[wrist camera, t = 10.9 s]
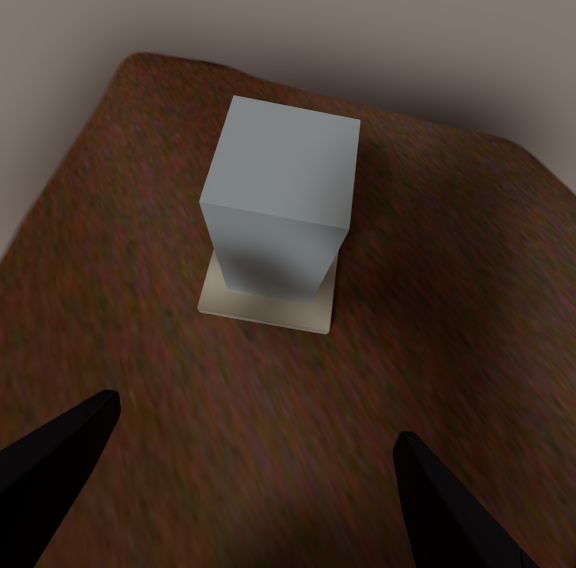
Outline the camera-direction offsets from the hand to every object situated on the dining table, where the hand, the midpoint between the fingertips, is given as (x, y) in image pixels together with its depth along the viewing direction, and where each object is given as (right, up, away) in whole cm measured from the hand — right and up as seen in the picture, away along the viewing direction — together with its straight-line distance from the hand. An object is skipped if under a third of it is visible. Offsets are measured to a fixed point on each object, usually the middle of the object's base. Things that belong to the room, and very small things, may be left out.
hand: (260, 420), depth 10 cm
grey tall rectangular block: (0, +6, +12) cm, 14 cm away
